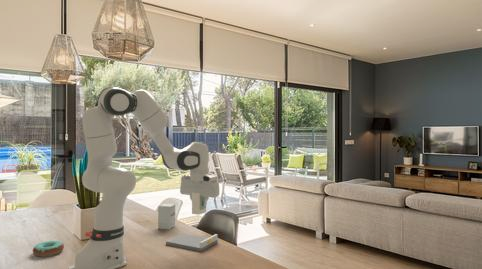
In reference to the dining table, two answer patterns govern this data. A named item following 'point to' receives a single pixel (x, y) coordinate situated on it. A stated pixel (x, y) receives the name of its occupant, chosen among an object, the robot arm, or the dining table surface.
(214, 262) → the dining table surface
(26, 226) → the dining table surface
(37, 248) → the donut
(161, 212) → the supplement box
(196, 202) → the carton
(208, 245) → the grey panel white edge
